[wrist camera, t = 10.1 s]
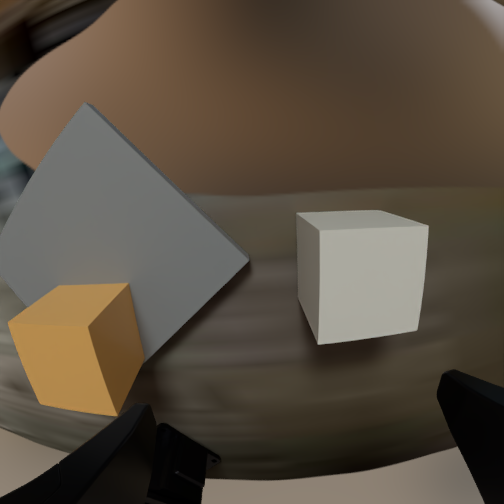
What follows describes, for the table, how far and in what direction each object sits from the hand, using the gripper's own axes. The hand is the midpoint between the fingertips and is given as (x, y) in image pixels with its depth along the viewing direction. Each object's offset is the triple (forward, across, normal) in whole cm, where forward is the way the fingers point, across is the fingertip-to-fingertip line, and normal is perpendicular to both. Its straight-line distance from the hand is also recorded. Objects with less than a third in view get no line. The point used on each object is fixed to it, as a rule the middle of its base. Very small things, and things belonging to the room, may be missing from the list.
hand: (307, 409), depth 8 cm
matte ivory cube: (+12, -4, -1) cm, 13 cm away
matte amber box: (+11, +11, +2) cm, 16 cm away
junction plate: (+12, +11, -2) cm, 17 cm away
